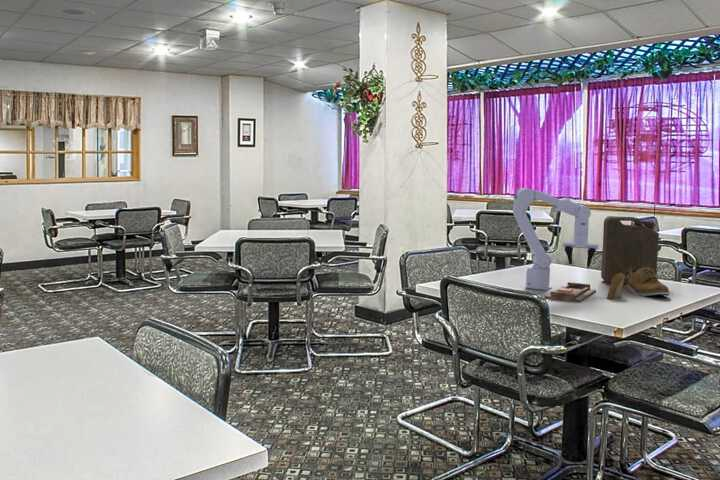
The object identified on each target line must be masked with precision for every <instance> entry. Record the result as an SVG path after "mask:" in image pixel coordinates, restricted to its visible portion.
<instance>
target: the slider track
mask: <svg viewBox="0 0 720 480" xmlns="http://www.w3.org/2000/svg"><path fill="white" fill-rule="evenodd" d="M559 288H567V289H573V293H565V292H557V289H559ZM557 289H554V290H553V291H552V290H551V291H550V292H549V293H547V294H545V295H544V297H545V298H544V299H546V298H547V299H548V300H556V301H557V300H558V301H563V300H564V301H563V302H565V301H566V302H572V301H575V303H582V302H584V299H585V300H586V299H588V298H590V296H592V295H594V294H595V293H596V291H597V289H594V288H591V284H590V283H582V282H581V283H580V282H573V281H572V282H571V281H567V285H562V286H560V287H558V288H557ZM581 301H582V302H581Z"/></svg>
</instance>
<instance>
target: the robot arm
mask: <svg viewBox="0 0 720 480" xmlns="http://www.w3.org/2000/svg"><path fill="white" fill-rule="evenodd" d="M538 201H541V202H543V203H547V204H550V205H553V206H554V207H557V210H558V211H559V212H561V213H565V214H567V215H570V216H572V217H574V225H573V242H567V241H563V242H562V248H564V252H565V254H566V256H567V260H568V265H572V264H573V252H574V251H573V250H574V249H587V251H586V252H587V262H586V264H587V265H586V267H590V266H591V262H592V259H593V258H594V257H593V256H594V255H595V253H596V251H597V250H599V244H595V243H588V240H589V239H588V237H589V235H588V234H589V218H590V217H591V216H592V212H591V209H590V208H589V207H588V206H587V205H582V204H581V202H579V201H577V202H576V201H573V200H571V198H570V197H566V198H565V197H563V198H561V199H559V198H557V197H555V196H553V195H550V194H547V193H545V192H543V191H539V190H535V189H531V188H526V187H521V188H519V189H517V190H516V192H515V194H514V196H513V207H512V214H513V216H514V218H515V220H516V223H517V224H518V226H519V229H520V231H521V232H522V235H523V237H524V238H525V241H526V243H527V245H528V247H529V250H530V253H531V259H532V262H533V265H532V266H528V267H527V269H526V273H525V274H526V275H525V276H526V277H525V289H533V290H542V291H543V290H544V291H547V290H551V289H552V288H553V286H552V285H550V278H551V277H550V275H551V265H552V257H551V256H550V254H549V253H547V252H546V250H545V248H544V247H543V246H542V243H541V242H540V240H539V237H538V235H537V233H536V231H535V229H534V227H533V225H532V223H531V221H530V219H529V216H528V215H527V210H528V207H529V206H530V205H531V204H532V203H533V202H538Z"/></svg>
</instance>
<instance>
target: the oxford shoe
mask: <svg viewBox="0 0 720 480" xmlns="http://www.w3.org/2000/svg"><path fill="white" fill-rule="evenodd" d="M626 287H627V289H628V290H629V291H631V292H633V293H635V295H638V296H642V297H649V296H650V297H651V296H657V295H661V296H665V297H668V296H670V295H671V293H670V291H669V287H668V286H667V285H666V284H664V283H662V282H661V281H659V278H658V277H657V274H656V275H655V273H654V269H653V268H652V269H651V267H650V266H645V267H642V268H640V269H632V270H631V272H630V277H629V280H628V283H627V284H626Z"/></svg>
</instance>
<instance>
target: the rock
mask: <svg viewBox="0 0 720 480" xmlns="http://www.w3.org/2000/svg"><path fill="white" fill-rule="evenodd" d="M624 278H625V275H624V274H623V273H618V274H616V275H615V276H614V277H612V283H611V284H610V287H609V289H608V293H607V295H606V299H609V300H613V299H615V298H616V297H617V298H619V297H620V296H622V290H623V285H624V284H623V282H624Z"/></svg>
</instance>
